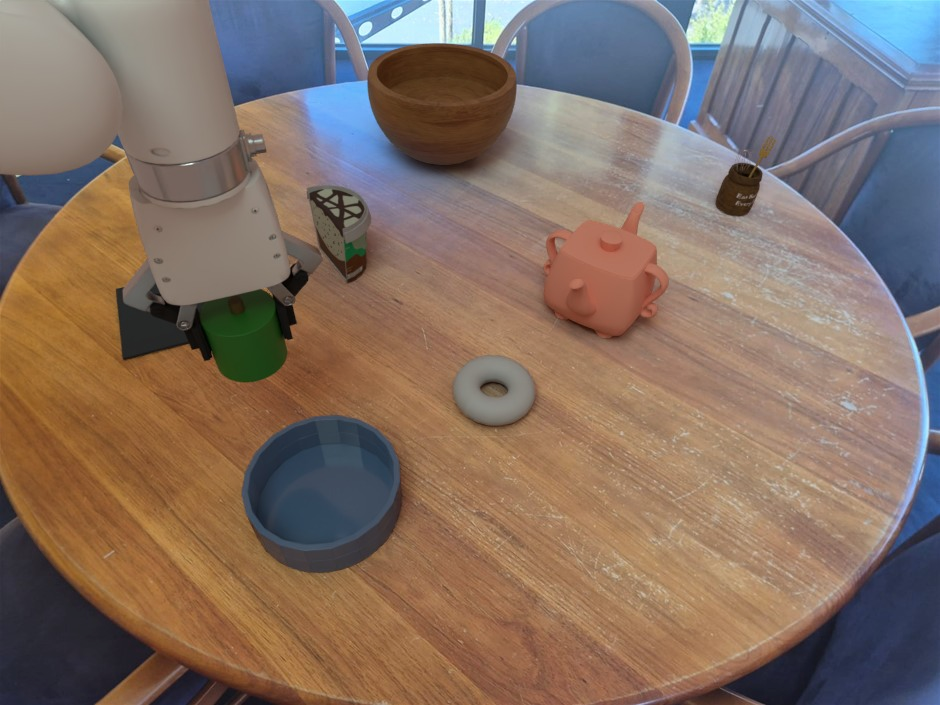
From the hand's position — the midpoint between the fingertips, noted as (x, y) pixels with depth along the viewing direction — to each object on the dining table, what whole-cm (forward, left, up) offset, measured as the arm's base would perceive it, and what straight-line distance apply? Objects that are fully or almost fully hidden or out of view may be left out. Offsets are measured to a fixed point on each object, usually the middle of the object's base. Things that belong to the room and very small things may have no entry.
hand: (246, 338), depth 56 cm
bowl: (+41, +52, -18) cm, 69 cm away
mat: (-9, +27, -17) cm, 34 cm away
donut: (+25, -3, -18) cm, 31 cm away
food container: (+17, +29, -18) cm, 38 cm away
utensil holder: (+81, +19, -18) cm, 85 cm away
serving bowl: (+3, -9, -17) cm, 20 cm away
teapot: (+45, +6, -18) cm, 49 cm away
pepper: (0, 0, -2) cm, 2 cm away
